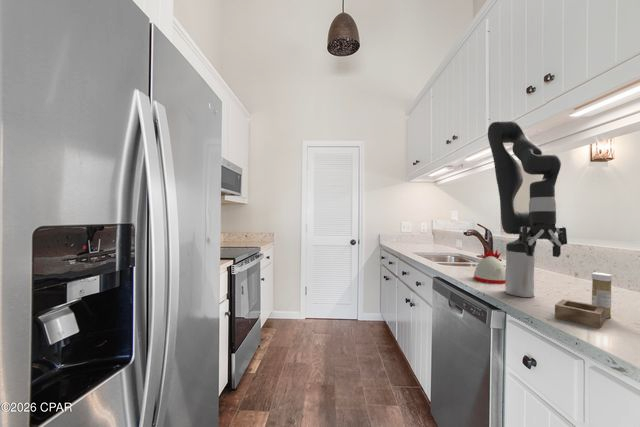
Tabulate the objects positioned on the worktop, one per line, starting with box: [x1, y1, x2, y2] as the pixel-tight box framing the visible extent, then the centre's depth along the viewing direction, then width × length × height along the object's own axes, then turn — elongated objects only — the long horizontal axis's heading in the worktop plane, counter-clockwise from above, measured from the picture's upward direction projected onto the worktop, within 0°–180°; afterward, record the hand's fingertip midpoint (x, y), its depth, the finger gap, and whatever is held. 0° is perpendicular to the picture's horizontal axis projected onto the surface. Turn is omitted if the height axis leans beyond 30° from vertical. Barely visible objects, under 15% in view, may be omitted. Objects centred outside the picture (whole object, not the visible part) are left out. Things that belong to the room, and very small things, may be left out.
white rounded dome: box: [473, 249, 506, 285], centre depth 136 cm, size 14×14×15 cm
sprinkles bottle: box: [591, 272, 613, 319], centre depth 88 cm, size 5×5×14 cm
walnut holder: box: [554, 298, 607, 329], centre depth 86 cm, size 10×10×4 cm
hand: (542, 256), depth 99 cm, fingers open, 8 cm apart
